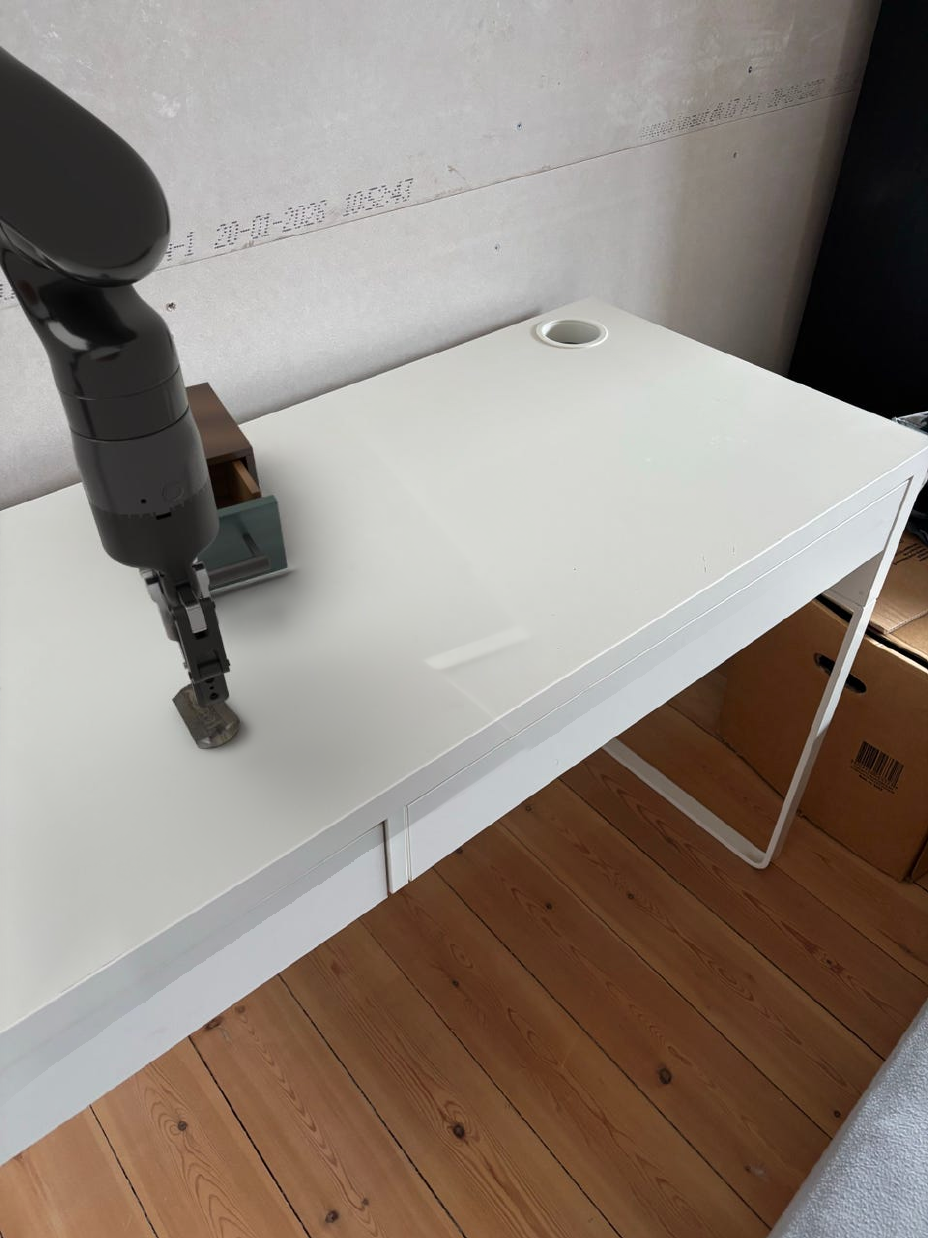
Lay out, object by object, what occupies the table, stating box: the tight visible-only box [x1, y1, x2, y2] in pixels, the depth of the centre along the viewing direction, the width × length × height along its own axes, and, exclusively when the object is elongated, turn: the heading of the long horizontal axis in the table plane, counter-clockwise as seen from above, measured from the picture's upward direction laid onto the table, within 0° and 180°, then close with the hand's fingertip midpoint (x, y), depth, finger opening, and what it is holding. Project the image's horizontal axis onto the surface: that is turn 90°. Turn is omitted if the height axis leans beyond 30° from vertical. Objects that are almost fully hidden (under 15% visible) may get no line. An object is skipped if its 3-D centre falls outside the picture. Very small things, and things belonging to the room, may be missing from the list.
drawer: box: [196, 458, 289, 593], centre depth 88 cm, size 18×11×7 cm, turn 27°
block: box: [171, 682, 241, 749], centre depth 75 cm, size 4×6×2 cm, turn 39°
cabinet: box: [185, 381, 261, 491], centre depth 95 cm, size 15×13×9 cm
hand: (197, 664), depth 72 cm, fingers open, 8 cm apart
